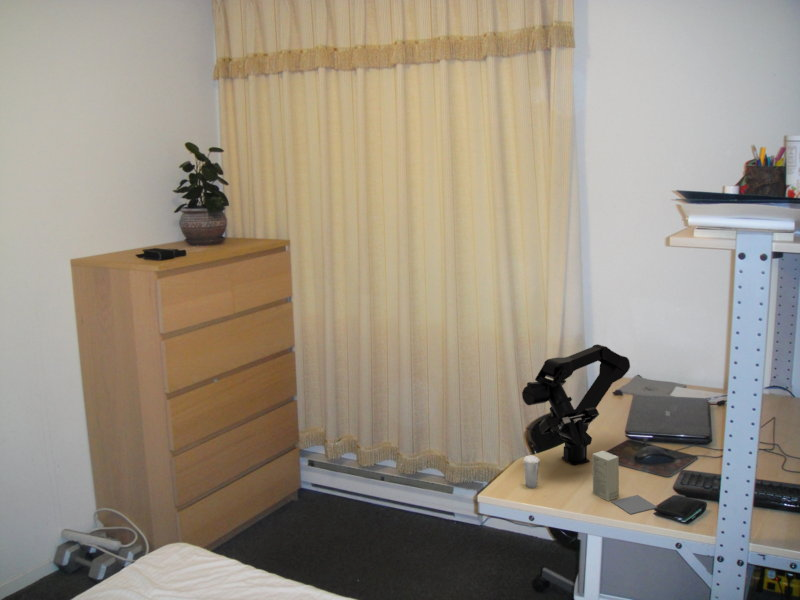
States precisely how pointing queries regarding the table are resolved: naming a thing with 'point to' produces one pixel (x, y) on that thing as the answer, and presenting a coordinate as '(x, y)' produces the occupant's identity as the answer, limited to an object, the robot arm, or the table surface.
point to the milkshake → (531, 470)
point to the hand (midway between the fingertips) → (581, 446)
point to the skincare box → (605, 475)
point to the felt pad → (634, 504)
